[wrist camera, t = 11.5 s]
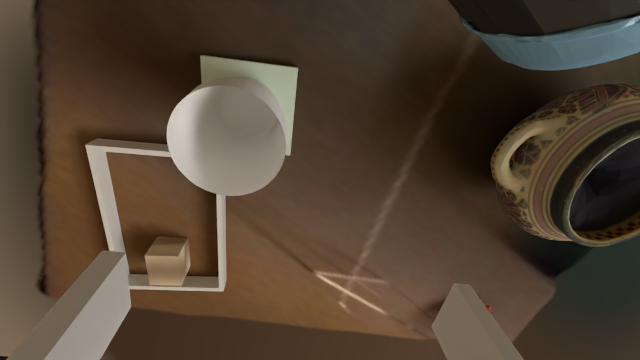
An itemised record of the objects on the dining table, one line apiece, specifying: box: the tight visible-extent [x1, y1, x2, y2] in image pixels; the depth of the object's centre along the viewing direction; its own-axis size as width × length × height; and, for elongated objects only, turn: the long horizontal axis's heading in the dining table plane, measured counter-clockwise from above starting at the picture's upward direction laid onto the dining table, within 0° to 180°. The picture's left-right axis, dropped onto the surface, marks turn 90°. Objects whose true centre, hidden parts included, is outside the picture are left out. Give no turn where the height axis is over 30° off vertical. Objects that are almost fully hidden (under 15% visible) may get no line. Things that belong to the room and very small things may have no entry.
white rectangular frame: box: [85, 138, 226, 291], centre depth 38 cm, size 21×14×2 cm
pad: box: [200, 55, 298, 155], centre depth 33 cm, size 10×10×1 cm
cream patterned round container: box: [491, 84, 640, 247], centre depth 33 cm, size 24×18×15 cm
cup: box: [167, 77, 289, 196], centre depth 27 cm, size 9×9×12 cm
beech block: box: [145, 237, 191, 286], centre depth 40 cm, size 5×4×4 cm
